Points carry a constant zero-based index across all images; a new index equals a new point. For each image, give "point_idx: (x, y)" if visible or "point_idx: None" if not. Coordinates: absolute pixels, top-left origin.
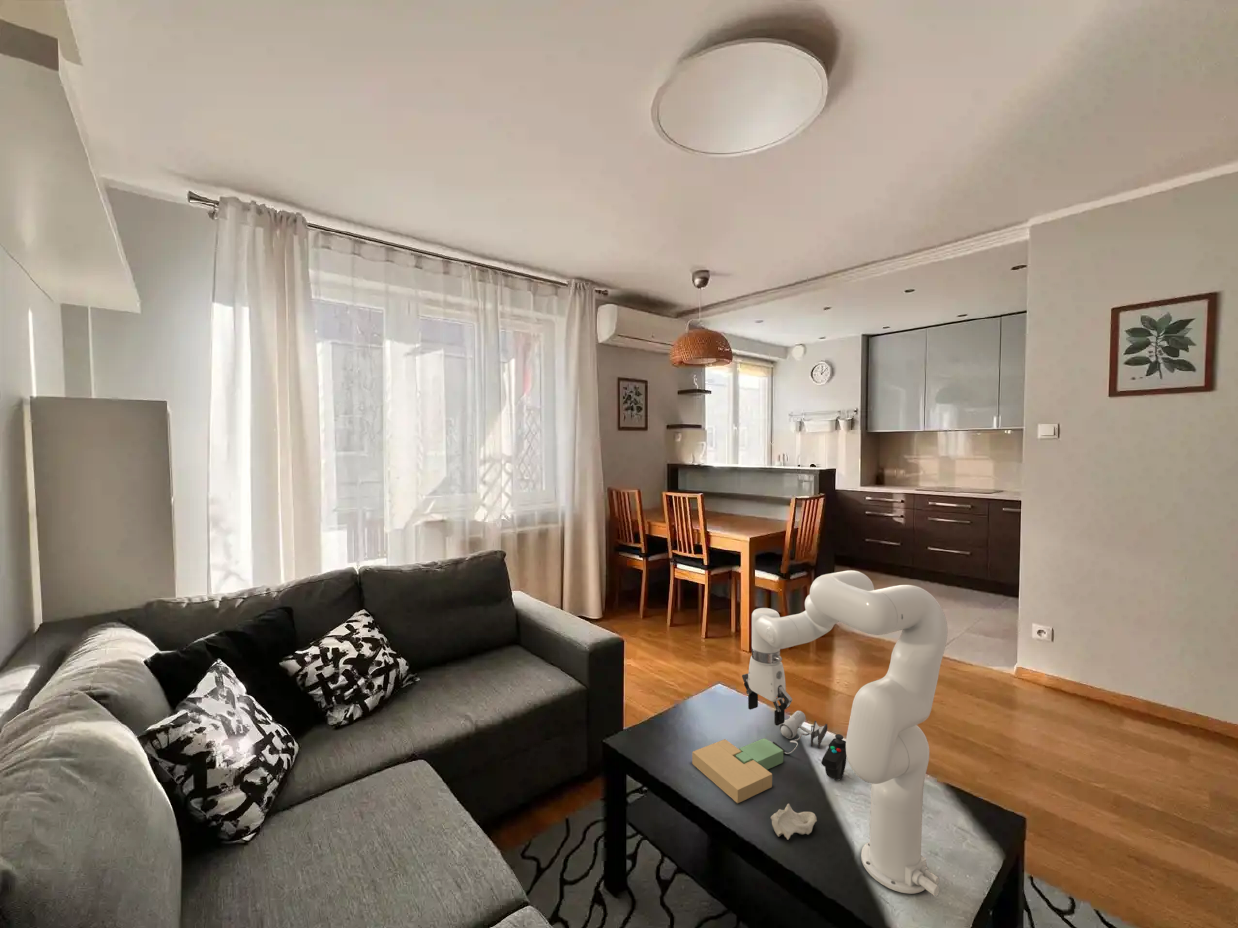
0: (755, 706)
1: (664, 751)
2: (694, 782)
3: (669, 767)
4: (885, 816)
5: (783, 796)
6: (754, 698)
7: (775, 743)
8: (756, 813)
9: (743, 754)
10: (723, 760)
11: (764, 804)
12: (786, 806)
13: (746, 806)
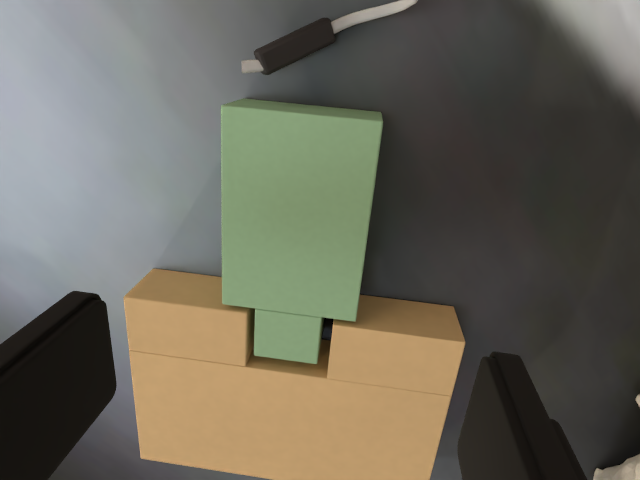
0: (100, 338)
1: None
2: None
3: (145, 475)
4: None
5: (522, 317)
6: (28, 430)
7: (274, 49)
8: None
9: (273, 327)
10: (255, 418)
11: None
12: (638, 472)
13: (448, 446)
